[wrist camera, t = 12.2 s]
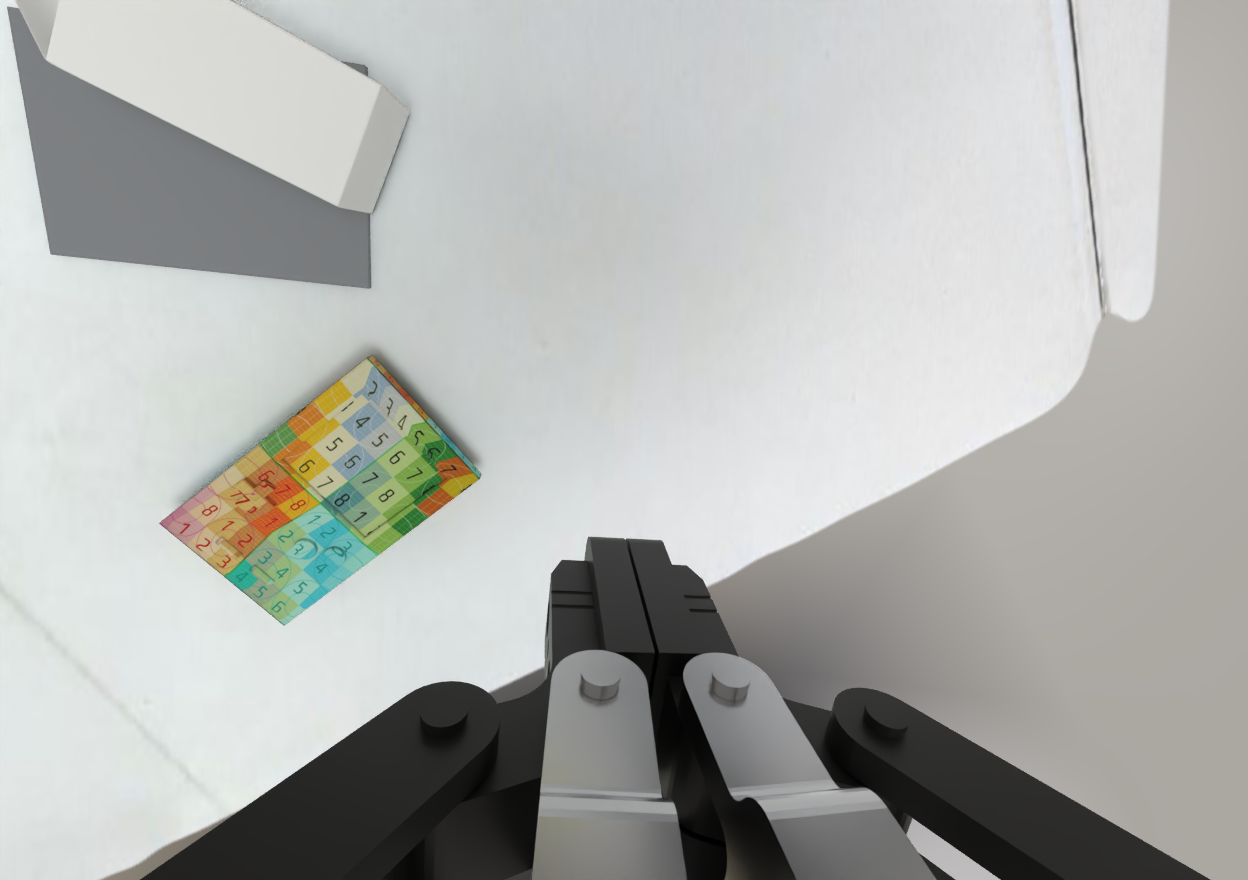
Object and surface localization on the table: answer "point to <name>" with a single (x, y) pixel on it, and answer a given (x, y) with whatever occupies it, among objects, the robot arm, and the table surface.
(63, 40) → the milk carton
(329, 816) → the robot arm
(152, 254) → the mat
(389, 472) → the puzzle game
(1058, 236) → the table surface
